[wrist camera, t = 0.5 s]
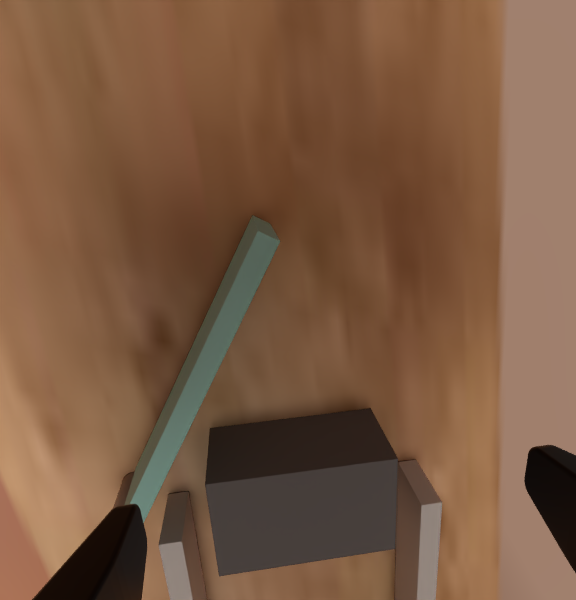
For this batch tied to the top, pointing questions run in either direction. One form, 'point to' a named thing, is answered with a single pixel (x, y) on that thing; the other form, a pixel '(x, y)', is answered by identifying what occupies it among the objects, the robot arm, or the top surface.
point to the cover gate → (203, 361)
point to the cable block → (300, 490)
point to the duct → (409, 539)
